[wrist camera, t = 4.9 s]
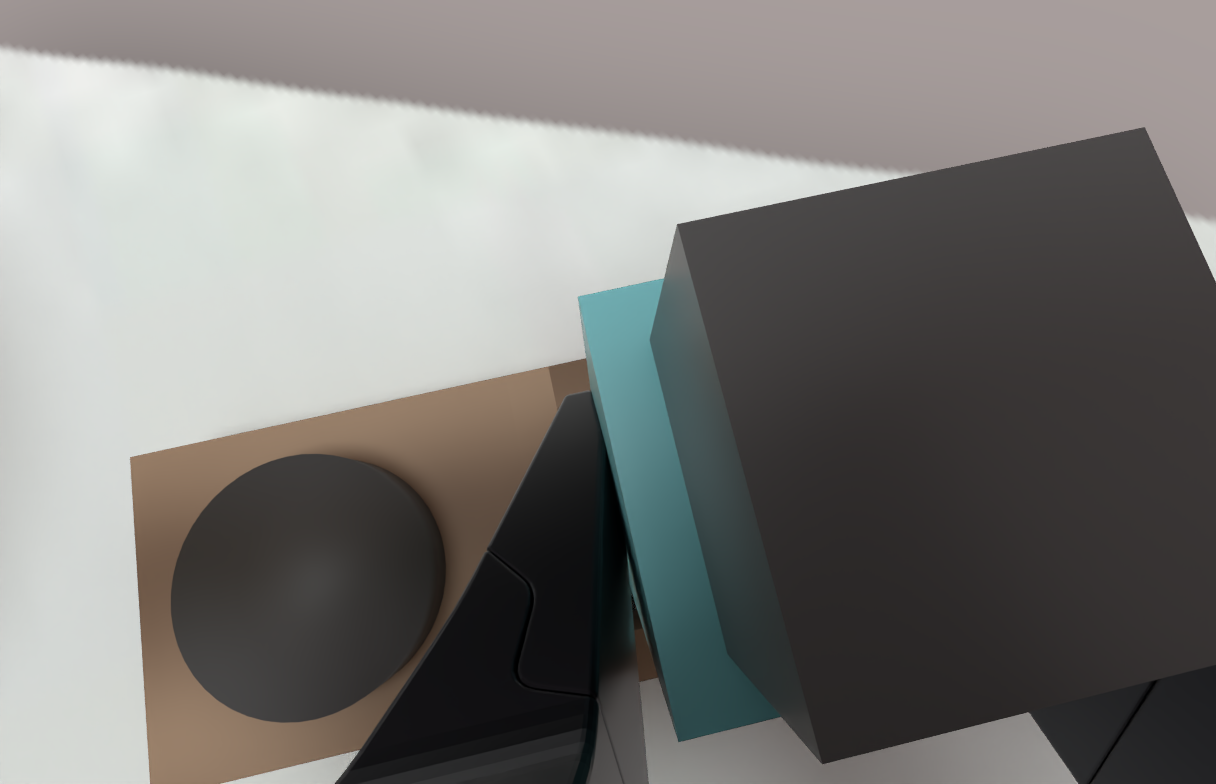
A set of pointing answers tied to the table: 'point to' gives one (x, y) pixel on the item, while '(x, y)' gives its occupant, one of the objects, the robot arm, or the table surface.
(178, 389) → the table surface
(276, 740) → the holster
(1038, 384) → the plug
